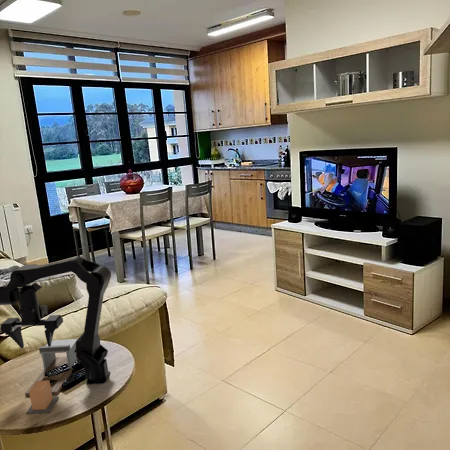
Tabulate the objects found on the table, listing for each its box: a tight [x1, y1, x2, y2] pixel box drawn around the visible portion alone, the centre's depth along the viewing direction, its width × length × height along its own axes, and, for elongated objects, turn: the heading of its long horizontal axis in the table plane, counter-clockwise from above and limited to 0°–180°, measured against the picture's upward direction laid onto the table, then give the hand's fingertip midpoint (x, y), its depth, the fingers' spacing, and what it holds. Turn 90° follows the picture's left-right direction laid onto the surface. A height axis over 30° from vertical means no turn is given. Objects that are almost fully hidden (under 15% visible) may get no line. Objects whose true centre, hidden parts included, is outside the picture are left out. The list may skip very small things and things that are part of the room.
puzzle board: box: [24, 356, 78, 397], centre depth 146 cm, size 10×22×1 cm, turn 179°
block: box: [29, 380, 54, 410], centre depth 129 cm, size 4×5×6 cm
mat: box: [25, 396, 59, 415], centre depth 130 cm, size 7×7×1 cm
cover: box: [38, 338, 78, 370], centre depth 151 cm, size 10×8×8 cm
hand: (36, 347), depth 142 cm, fingers open, 9 cm apart
